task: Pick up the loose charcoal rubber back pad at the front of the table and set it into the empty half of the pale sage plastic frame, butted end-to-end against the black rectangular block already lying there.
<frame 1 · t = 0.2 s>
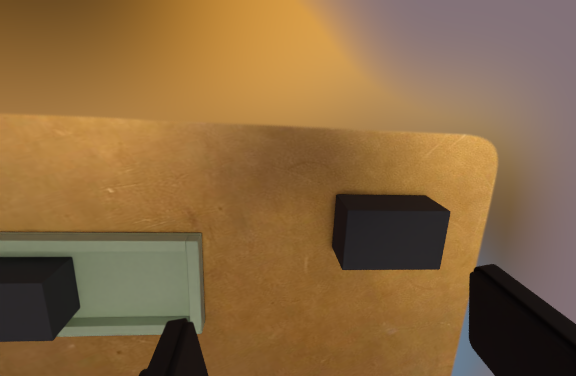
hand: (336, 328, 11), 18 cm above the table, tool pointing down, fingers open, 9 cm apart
pad frame: (86, 279, 29), on the table
loose pad: (378, 221, 29), on the table
black rectangular block: (27, 283, 28), resting on pad frame
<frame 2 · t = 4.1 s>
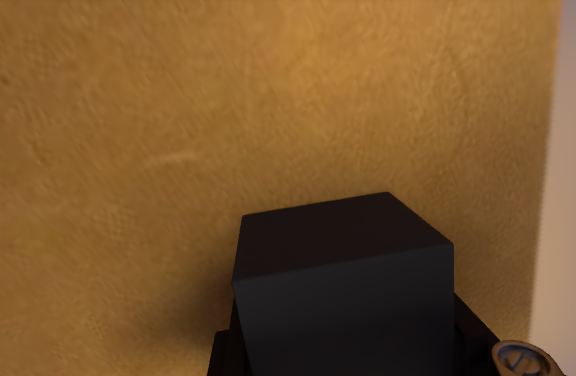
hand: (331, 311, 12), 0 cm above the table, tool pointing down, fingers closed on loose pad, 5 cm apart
loose pad: (329, 304, 12), on the table, touching gripper
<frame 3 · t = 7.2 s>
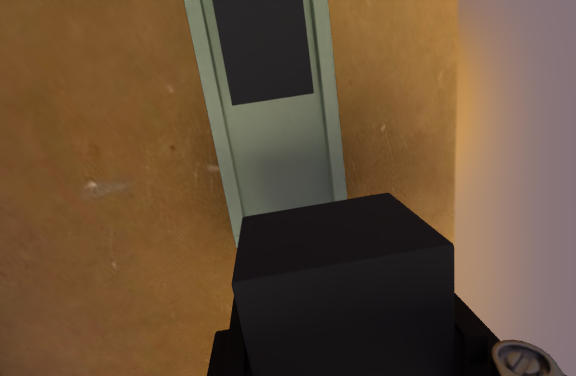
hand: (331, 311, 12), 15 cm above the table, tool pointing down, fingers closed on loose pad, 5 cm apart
pad frame: (272, 106, 24), on the table
loose pad: (329, 304, 12), point 15 cm above the table, touching gripper
black rectangular block: (262, 38, 22), resting on pad frame
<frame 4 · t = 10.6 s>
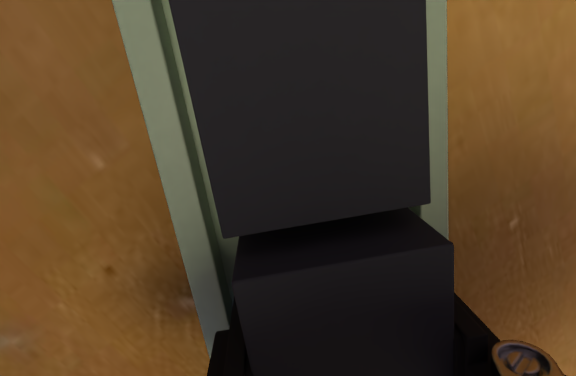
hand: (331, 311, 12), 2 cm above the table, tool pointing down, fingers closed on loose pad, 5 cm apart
pad frame: (306, 190, 12), on the table
loose pad: (329, 304, 12), point 1 cm above the table, touching gripper
black rectangular block: (289, 57, 10), resting on pad frame
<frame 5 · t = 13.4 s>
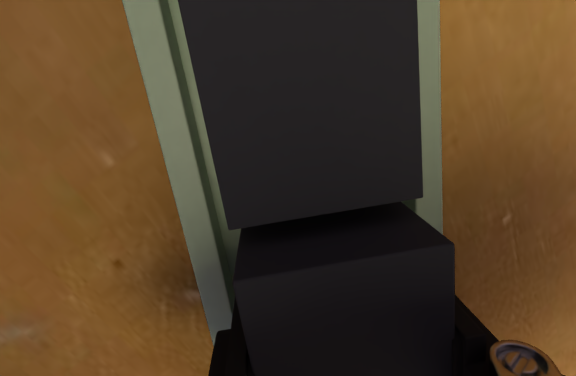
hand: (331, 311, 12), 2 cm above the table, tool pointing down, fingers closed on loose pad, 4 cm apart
pad frame: (306, 187, 13), on the table
loose pad: (329, 304, 12), point 2 cm above the table, touching gripper
black rectangular block: (290, 60, 11), resting on pad frame
when the fingers open (2 cm above the table, at t = 15.8 s): loose pad drops 1 cm, resting on pad frame.
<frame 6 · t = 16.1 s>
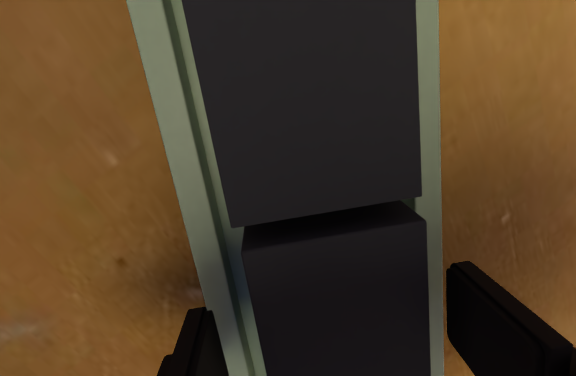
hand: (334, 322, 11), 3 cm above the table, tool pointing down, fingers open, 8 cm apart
pad frame: (307, 186, 13), on the table
loose pad: (324, 282, 14), resting on pad frame
black rectangular block: (291, 61, 11), resting on pad frame
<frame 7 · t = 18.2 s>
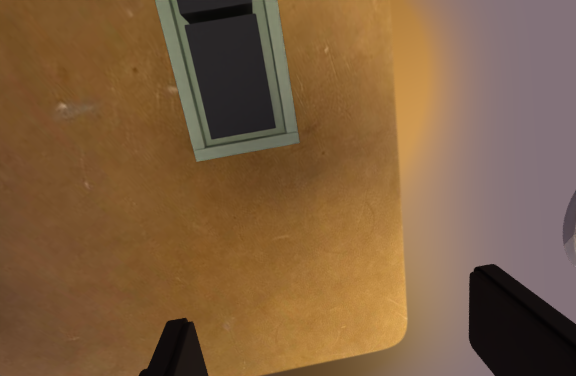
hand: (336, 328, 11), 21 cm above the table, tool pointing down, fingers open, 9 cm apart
pad frame: (224, 29, 27), on the table
loose pad: (235, 80, 28), resting on pad frame
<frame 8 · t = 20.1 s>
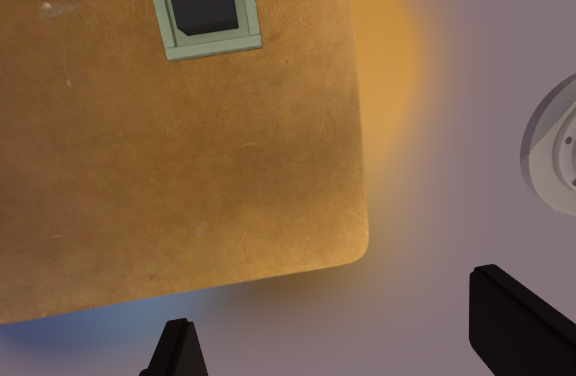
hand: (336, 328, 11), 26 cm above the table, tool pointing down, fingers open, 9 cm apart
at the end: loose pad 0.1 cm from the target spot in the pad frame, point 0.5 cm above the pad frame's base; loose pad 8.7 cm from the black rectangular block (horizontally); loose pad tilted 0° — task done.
